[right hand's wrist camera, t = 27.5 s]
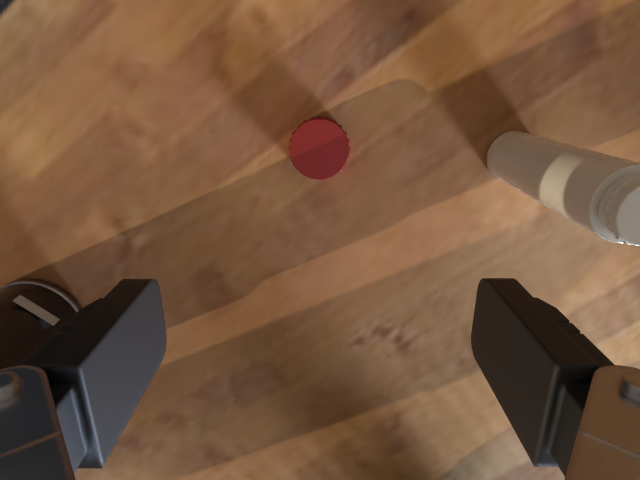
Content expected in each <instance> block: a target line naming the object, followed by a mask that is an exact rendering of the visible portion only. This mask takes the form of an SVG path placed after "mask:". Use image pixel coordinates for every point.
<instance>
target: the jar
mask: <svg viewBox="0 0 640 480" xmlns="http://www.w3.org/2000/svg"><path fill="white" fill-rule="evenodd" d="M487 166H488V169H489V171H490V172H491V174H492V175H493V176H494V177H496V178H497V179H499V180H501V181H503V182H504V183H506V184H508V185H510V186H511V187H513V188H515V189H517V190H518V191H520V192H522V193H524V194H525V195H527V196H529V197H531V198H532V199H534V200H536V201H538V202H539V203H541V204H543V205H545V206H546V207H548V208H550V209H552V210H553V211H555V212H557V213H559V214H560V215H562V216H564V217H566V218H567V219H569V220H571V221H573V222H574V223H576V224H578V225H580V226H581V227H583V228H585V229H587V230H588V231H590V232H592V233H594V234H595V235H597V236H599V237H601V238H602V239H605V240H607V241H610V242H615V243H625V244H629V245H634V246H640V163H638V162H634V161H630V160H626V159H623V158H619V157H615V156H611V155H608V154H604V153H600V152H596V151H593V150H589V149H585V148H582V147H578V146H574V145H570V144H567V143H563V142H559V141H555V140H552V139H548V138H544V137H540V136H537V135H533V134H529V133H526V132H522V131H510V132H507V133H504V134H502V135H501V136H499V137H498V138H497V139H496V140H495V141H494V142H493V143H492V144H491V146H490V148H489V150H488V153H487Z"/></svg>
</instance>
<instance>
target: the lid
mask: <svg viewBox="0 0 640 480" xmlns="http://www.w3.org/2000/svg"><path fill="white" fill-rule="evenodd" d="M289 150H290V158H291V160H292V162H293V165H294V166H295V167H296V168H297V170H298V171H299V172H300V173H302V174H303V175H305V176H307V177H309V178H312V179H327V178H330V177H332V176H334V175H336V174H337V173H339V172H340V171H341V170H342V169H343V167H344V166H345V165H346V162H347V160H348V158H349V150H350V148H349V140H348V139H347V136H346V132H344V131H343V129H342V126H341V125H340V126H339V125H338V124H337V123H336V122H335V120H334V121H333V120H330V119H328V117H327V118H323V117H320V116H319V117H316V118H313V117H311V119H308V120H306V121H305V120H304V122H303V123H302V124H301V125H300V126H299V125H298V127H297V129H296V131H294V132H293V136H292V138H291V139H290V147H289Z"/></svg>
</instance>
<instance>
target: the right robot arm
mask: <svg viewBox="0 0 640 480" xmlns="http://www.w3.org/2000/svg"><path fill="white" fill-rule="evenodd" d="M471 344H472V350H473V354H474V357H475V359H476V361H477V363H478V365H479V367H480V369H481V370H482V372H483V374H484V376H485V378H486V379H487V381H488V383H489V385H490V387H491V388H492V390H493V392H494V394H495V396H496V398H497V399H498V401H499V403H500V405H501V407H502V408H503V410H504V412H505V414H506V416H507V418H508V419H509V421H510V423H511V425H512V427H513V428H514V430H515V432H516V434H517V436H518V437H519V439H520V441H521V443H522V445H523V447H524V448H525V450H526V452H527V454H528V456H529V457H530V459H531V461H532V463H533V465H534V466H535V467H559V468H560V469H561V471H562V472H563V474H564V476H565V480H640V369H637V368H633V367H628V366H620V365H614V364H613V363H612V362H611V361H610V360H609V359H608V358H607V357H606V356H605V355H604V354H603V353H602V352H601V351H600V350H599V349H598V348H597V347H596V346H595V345H594V344H593V343H592V342H591V341H590V340H589V339H587V338H586V337H585V336H584V335H583V334H580V331H579V330H578V329H577V328H576V327H575V326H574V325H573V324H572V323H569V320H568V319H567V318H566V317H565V316H564V315H563V314H562V313H561V312H560V311H559V310H558V309H557V308H555V307H553V306H551V305H550V304H548V303H546V302H544V301H542V300H540V299H539V298H533V297H532V296H531V295H530V294H529V293H528V292H527V291H526V290H525V288H524V287H523V286H522V285H521V284H520V283H519V282H518V281H517V280H516V279H514V278H483V279H482V280H481V281H480V283H479V285H478V290H477V297H476V304H475V311H474V319H473V326H472V333H471ZM165 350H166V329H165V322H164V315H163V308H162V301H161V294H160V288H159V284H158V282H157V281H156V280H155V279H123V280H121V281H120V282H119V283H118V284H117V285H116V286H115V287H114V288H113V289H112V290H111V291H110V292H109V293H108V294H107V295H106V297H105V298H100V299H98V300H96V301H94V302H93V303H91V304H89V305H87V306H85V307H83V308H81V307H80V305H79V304H78V303H77V301H76V300H75V299H74V298H73V297H72V296H71V295H70V294H68V293H67V292H66V291H64V290H63V289H61V288H59V287H58V286H56V285H53V284H51V283H48V282H45V281H41V280H36V279H21V280H16V281H13V282H10V283H8V284H6V285H4V286H3V287H1V288H0V480H75V476H74V473H75V471H76V470H77V468H102V467H103V465H104V464H105V462H106V460H107V458H108V456H109V455H110V453H111V451H112V449H113V447H114V446H115V444H116V442H117V440H118V438H119V437H120V435H121V433H122V431H123V429H124V428H125V426H126V424H127V422H128V421H129V419H130V417H131V415H132V413H133V412H134V410H135V408H136V406H137V404H138V403H139V401H140V399H141V397H142V395H143V394H144V392H145V390H146V388H147V387H148V385H149V383H150V381H151V379H152V378H153V376H154V374H155V372H156V370H157V369H158V367H159V365H160V363H161V361H162V359H163V357H164V354H165Z"/></svg>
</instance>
